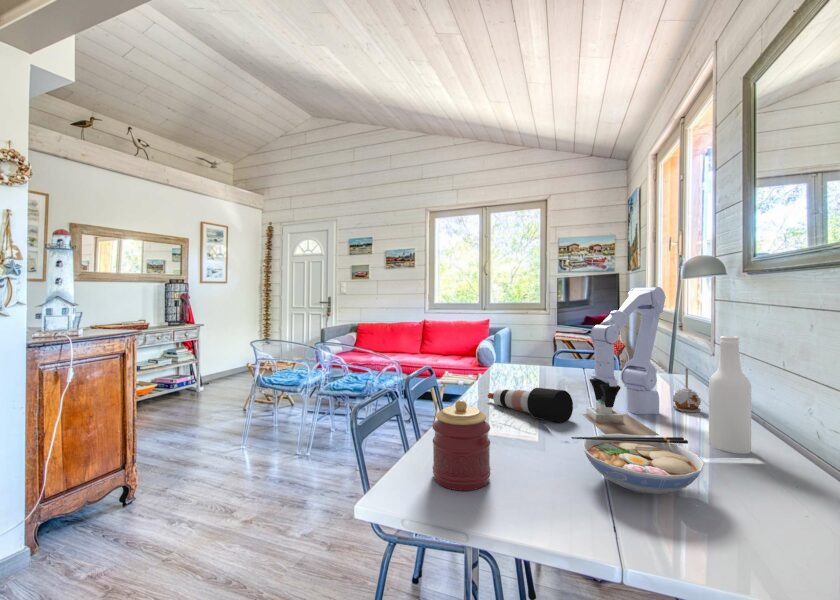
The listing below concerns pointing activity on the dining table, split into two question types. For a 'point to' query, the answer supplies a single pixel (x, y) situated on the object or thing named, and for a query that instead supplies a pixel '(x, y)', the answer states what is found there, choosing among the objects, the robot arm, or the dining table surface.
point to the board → (623, 427)
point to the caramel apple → (686, 399)
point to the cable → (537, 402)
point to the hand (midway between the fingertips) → (604, 403)
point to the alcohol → (730, 401)
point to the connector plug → (602, 407)
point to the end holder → (604, 416)
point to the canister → (461, 448)
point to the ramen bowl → (643, 461)
